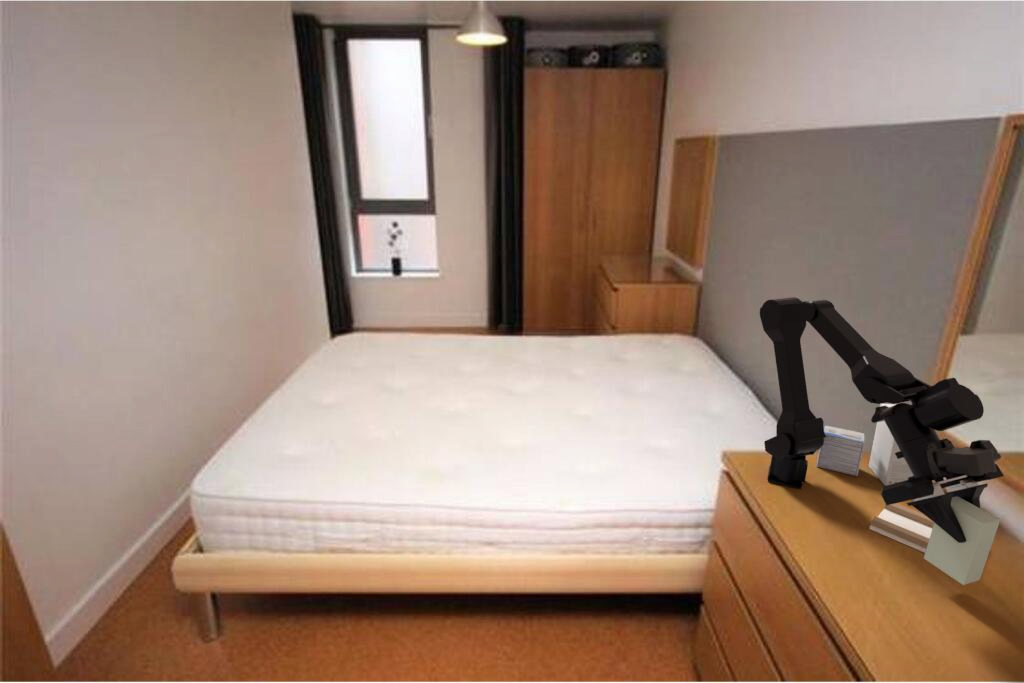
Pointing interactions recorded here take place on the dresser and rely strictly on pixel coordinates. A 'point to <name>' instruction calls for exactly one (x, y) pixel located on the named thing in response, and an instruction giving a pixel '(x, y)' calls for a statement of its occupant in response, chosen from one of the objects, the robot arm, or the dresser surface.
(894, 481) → the skincare box
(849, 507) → the dresser surface
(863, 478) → the dresser surface
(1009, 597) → the dresser surface
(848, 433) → the medicine box
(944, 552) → the door panel
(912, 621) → the dresser surface
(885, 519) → the track
